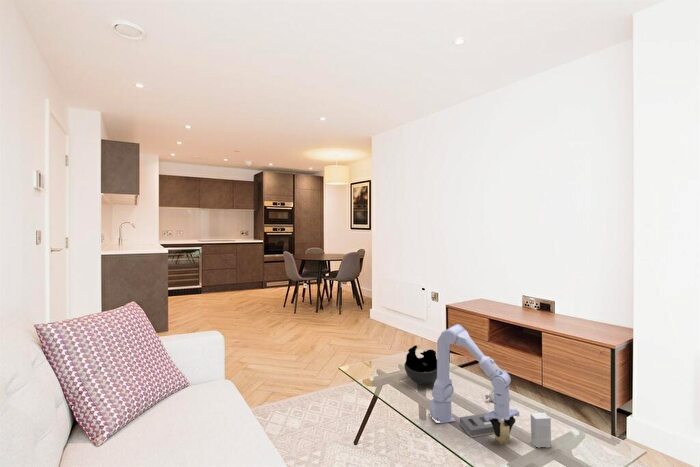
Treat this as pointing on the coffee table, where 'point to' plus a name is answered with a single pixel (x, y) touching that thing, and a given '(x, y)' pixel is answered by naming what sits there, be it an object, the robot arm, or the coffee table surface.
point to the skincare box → (541, 429)
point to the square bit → (503, 433)
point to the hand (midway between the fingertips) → (502, 434)
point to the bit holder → (477, 425)
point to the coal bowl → (421, 366)
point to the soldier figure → (491, 396)
